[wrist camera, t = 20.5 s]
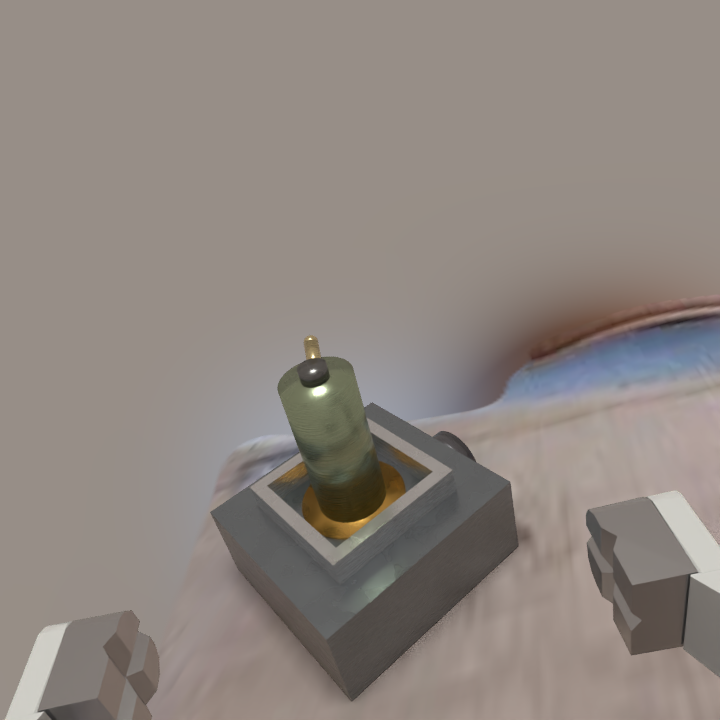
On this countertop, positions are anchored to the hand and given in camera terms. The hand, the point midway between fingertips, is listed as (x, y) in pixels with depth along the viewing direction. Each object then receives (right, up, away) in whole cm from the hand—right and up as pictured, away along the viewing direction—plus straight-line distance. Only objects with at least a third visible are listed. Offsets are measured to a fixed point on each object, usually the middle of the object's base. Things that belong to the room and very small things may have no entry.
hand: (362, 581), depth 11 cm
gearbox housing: (+1, -12, +41) cm, 43 cm away
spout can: (-1, -6, +37) cm, 38 cm away
